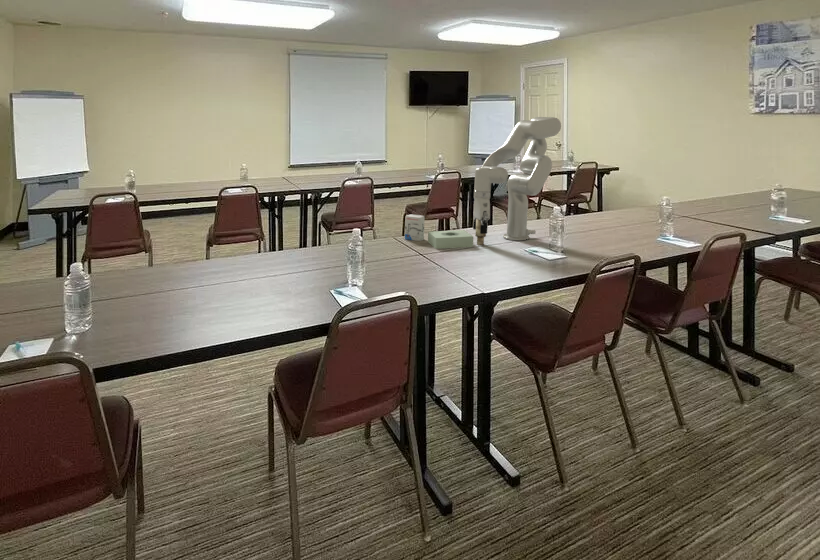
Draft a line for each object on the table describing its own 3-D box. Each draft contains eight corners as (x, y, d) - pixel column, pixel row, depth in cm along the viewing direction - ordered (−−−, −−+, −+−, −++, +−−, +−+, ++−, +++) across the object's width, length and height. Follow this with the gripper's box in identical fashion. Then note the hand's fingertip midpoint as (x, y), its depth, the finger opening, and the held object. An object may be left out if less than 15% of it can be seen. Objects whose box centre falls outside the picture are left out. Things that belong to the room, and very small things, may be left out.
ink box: (404, 239, 268) (404, 215, 265) (409, 237, 273) (409, 214, 269) (420, 241, 265) (420, 217, 261) (424, 239, 269) (424, 215, 265)
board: (463, 240, 267) (463, 230, 265) (473, 246, 254) (473, 236, 252) (427, 241, 263) (428, 231, 262) (435, 248, 250) (435, 238, 249)
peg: (483, 242, 261) (484, 218, 258) (487, 245, 257) (488, 220, 253) (473, 243, 260) (474, 218, 257) (477, 245, 256) (478, 220, 252)
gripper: (496, 197, 244) (494, 235, 249) (483, 192, 261) (481, 227, 265) (480, 197, 243) (478, 235, 248) (468, 192, 259) (466, 228, 264)
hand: (479, 231), depth 256 cm, fingers open, 9 cm apart
